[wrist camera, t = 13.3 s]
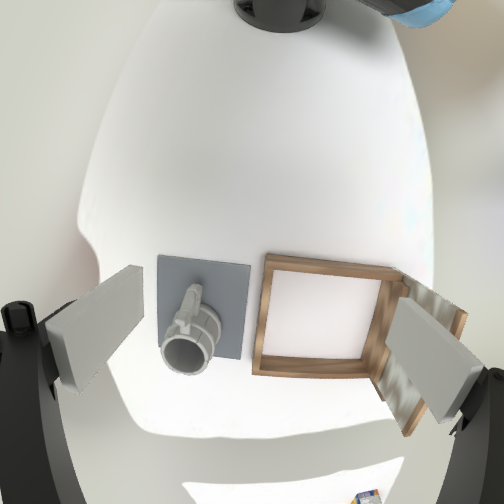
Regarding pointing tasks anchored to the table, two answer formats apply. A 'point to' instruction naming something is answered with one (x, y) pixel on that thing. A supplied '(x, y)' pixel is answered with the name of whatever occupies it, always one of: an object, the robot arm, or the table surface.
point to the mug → (191, 335)
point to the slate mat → (205, 296)
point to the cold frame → (375, 350)
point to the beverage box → (367, 498)
